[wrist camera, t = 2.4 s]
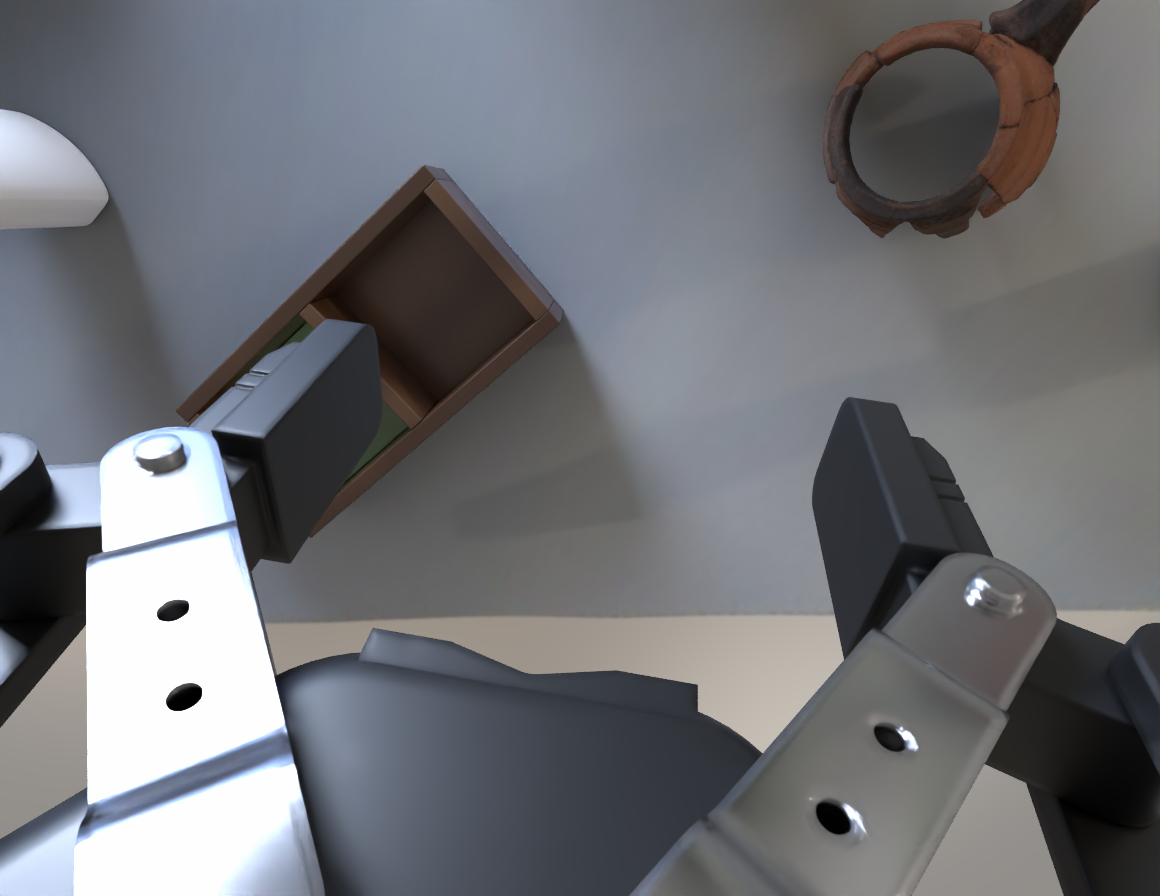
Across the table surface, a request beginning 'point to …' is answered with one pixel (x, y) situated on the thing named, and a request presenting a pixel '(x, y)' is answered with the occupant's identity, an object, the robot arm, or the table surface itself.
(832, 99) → the broken clay pot
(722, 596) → the table surface
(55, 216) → the eye dropper bottle
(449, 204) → the brown wooden divided tray
